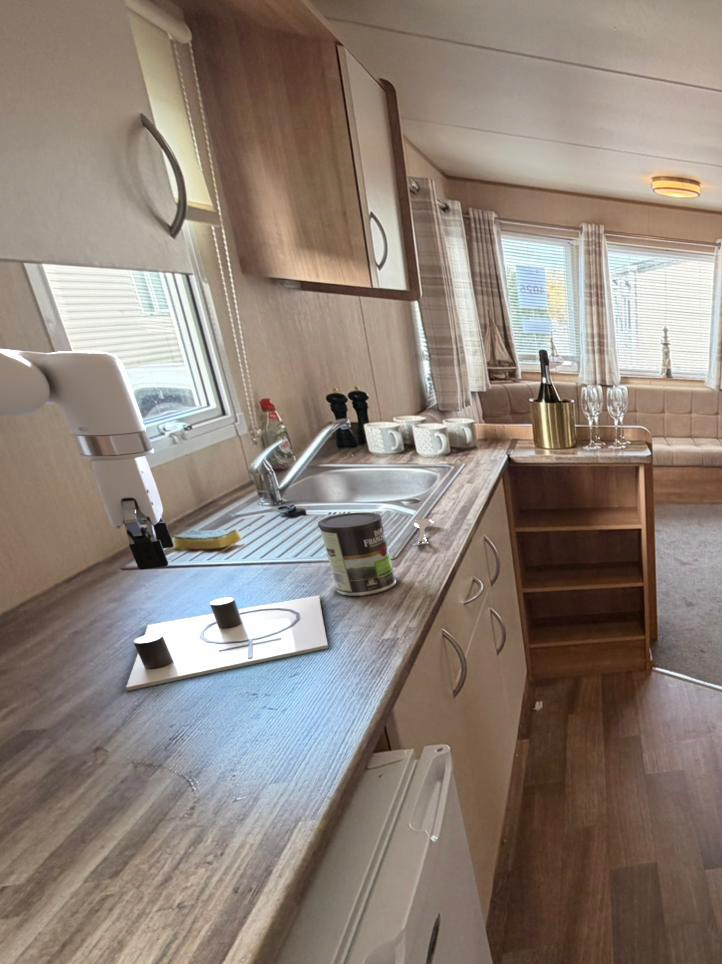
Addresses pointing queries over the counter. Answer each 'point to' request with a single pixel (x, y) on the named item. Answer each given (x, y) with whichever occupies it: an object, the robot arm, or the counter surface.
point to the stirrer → (422, 529)
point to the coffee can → (357, 553)
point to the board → (234, 641)
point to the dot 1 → (153, 651)
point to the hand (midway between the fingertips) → (157, 557)
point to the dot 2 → (226, 613)
